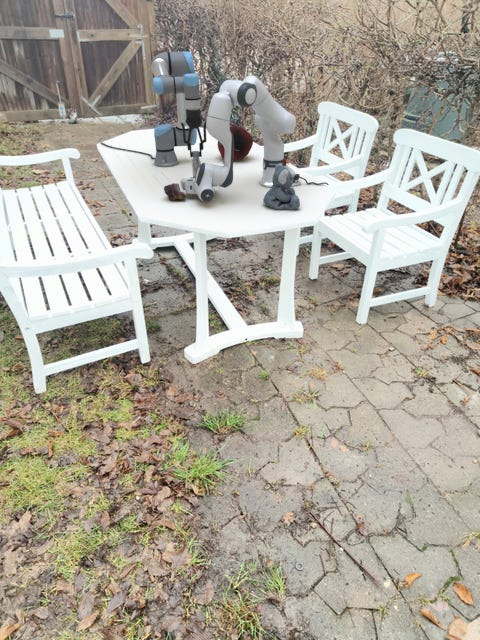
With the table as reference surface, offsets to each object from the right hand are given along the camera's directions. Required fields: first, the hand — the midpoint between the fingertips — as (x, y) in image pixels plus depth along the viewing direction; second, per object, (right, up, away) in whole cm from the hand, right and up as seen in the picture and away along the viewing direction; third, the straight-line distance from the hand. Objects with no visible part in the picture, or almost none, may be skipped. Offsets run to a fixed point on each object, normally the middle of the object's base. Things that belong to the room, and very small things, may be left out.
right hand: (196, 178), depth 247 cm
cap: (0, +11, -9) cm, 14 cm away
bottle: (0, -6, +3) cm, 7 cm away
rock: (-11, -14, -8) cm, 20 cm away
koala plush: (+45, -19, -17) cm, 51 cm away
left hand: (0, +9, -7) cm, 12 cm away
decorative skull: (+20, +31, +56) cm, 67 cm away
